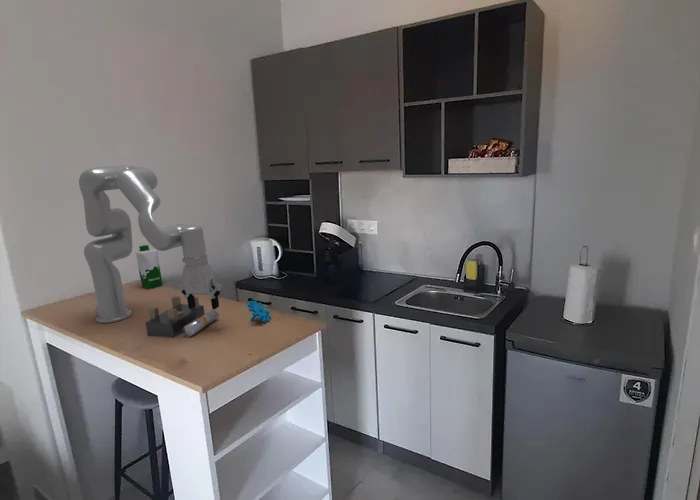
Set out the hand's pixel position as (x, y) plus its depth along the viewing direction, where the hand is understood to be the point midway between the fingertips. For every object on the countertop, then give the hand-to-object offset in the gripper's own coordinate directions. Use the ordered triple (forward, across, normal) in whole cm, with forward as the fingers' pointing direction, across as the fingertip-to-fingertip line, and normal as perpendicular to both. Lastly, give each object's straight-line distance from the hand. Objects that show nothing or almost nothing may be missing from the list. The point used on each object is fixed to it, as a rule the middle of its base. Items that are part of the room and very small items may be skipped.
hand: (204, 307), depth 155 cm
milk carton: (+6, -60, +42) cm, 73 cm away
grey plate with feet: (+7, -13, 0) cm, 15 cm away
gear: (+8, +16, +10) cm, 21 cm away
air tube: (+6, -2, 0) cm, 6 cm away
